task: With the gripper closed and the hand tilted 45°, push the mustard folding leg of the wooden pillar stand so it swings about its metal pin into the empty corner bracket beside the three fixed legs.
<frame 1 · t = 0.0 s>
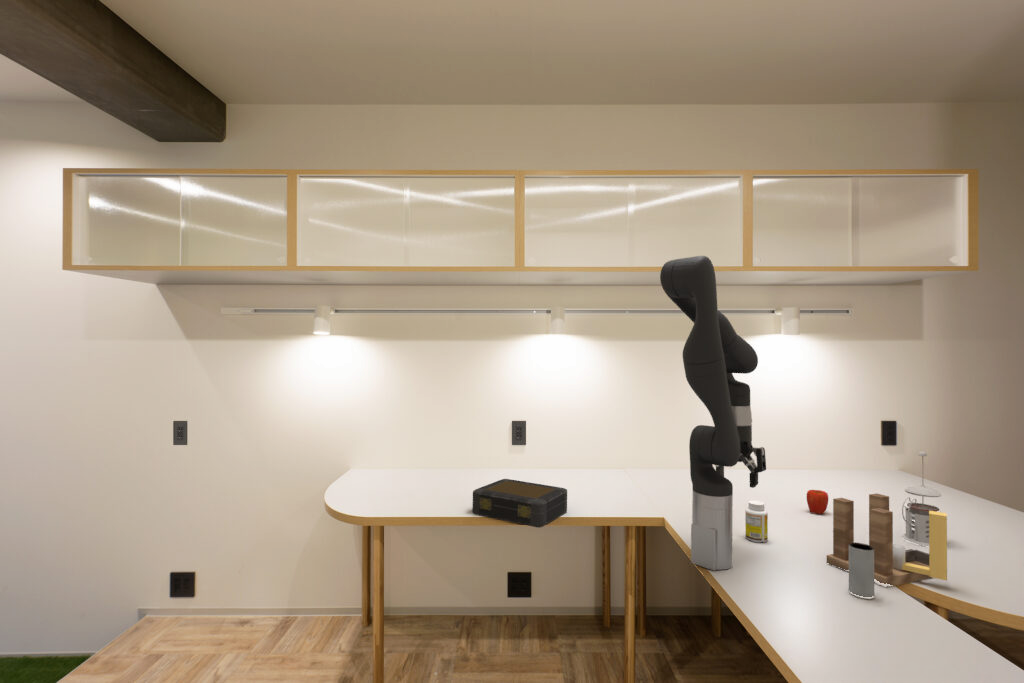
hand: (736, 483, 135), 17 cm above the table, tool pointing down, fingers open, 8 cm apart
hinged leg: (918, 541, 117), point 9 cm above the table, hinge at -60.0°
wooden pillar stand: (880, 569, 123), on the table
apple: (817, 513, 168), on the table
grey tube: (861, 595, 110), on the table
ramekin: (921, 521, 162), on the table
french press: (920, 542, 143), on the table
supplement bottle: (756, 540, 142), on the table
cash box: (520, 513, 164), on the table
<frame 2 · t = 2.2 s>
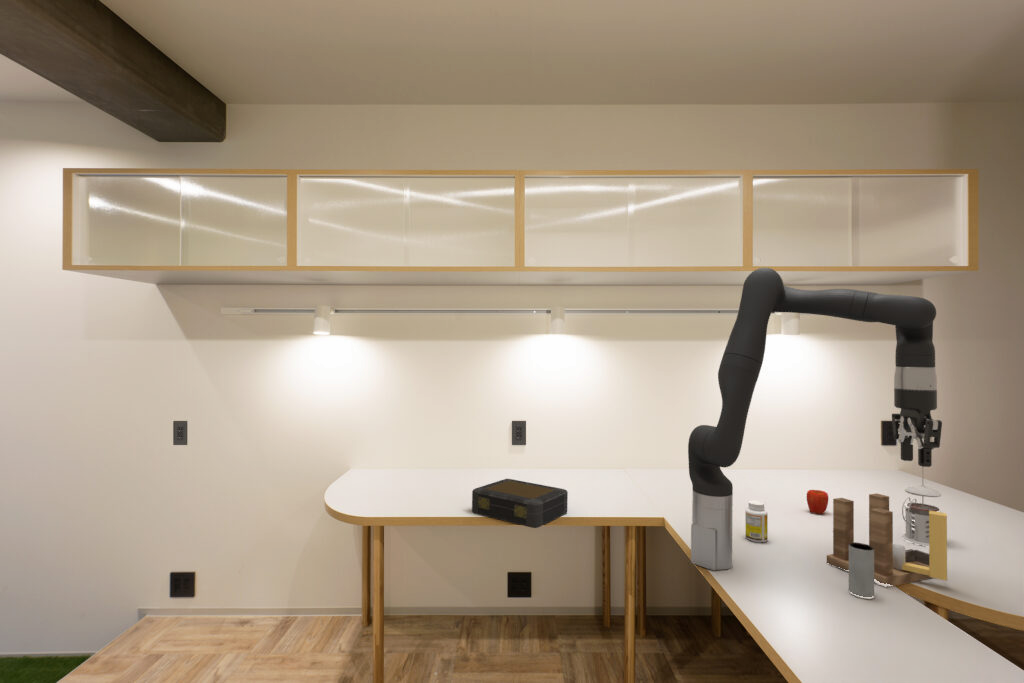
hand: (915, 463, 114), 28 cm above the table, tool pointing down, fingers open, 5 cm apart
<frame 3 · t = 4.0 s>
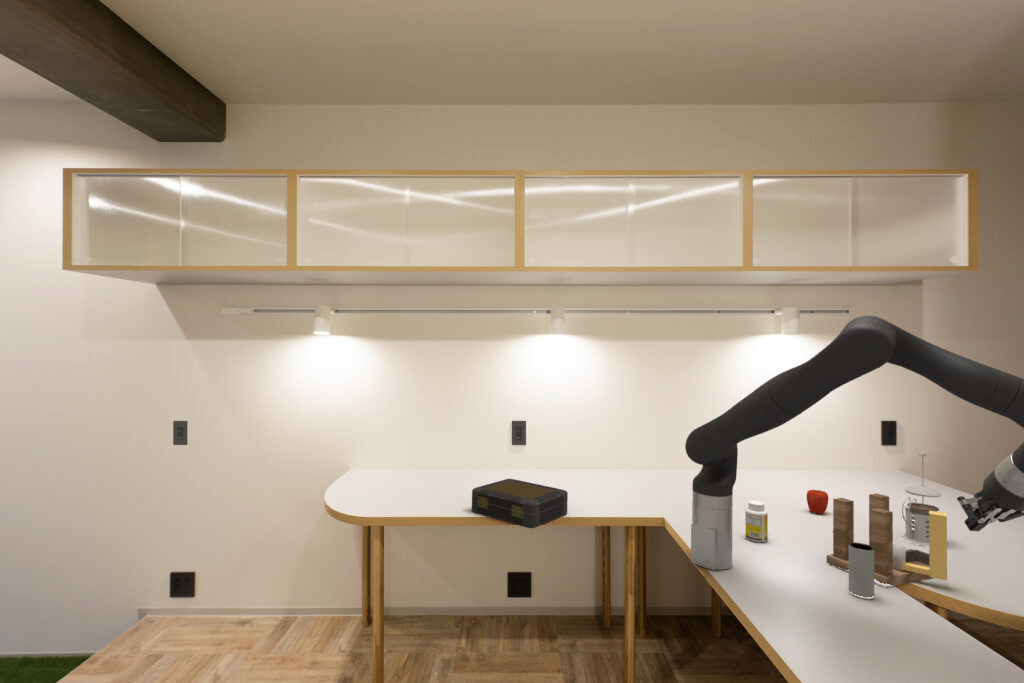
hand: (971, 526, 105), 16 cm above the table, tool tilted 45°, fingers closed
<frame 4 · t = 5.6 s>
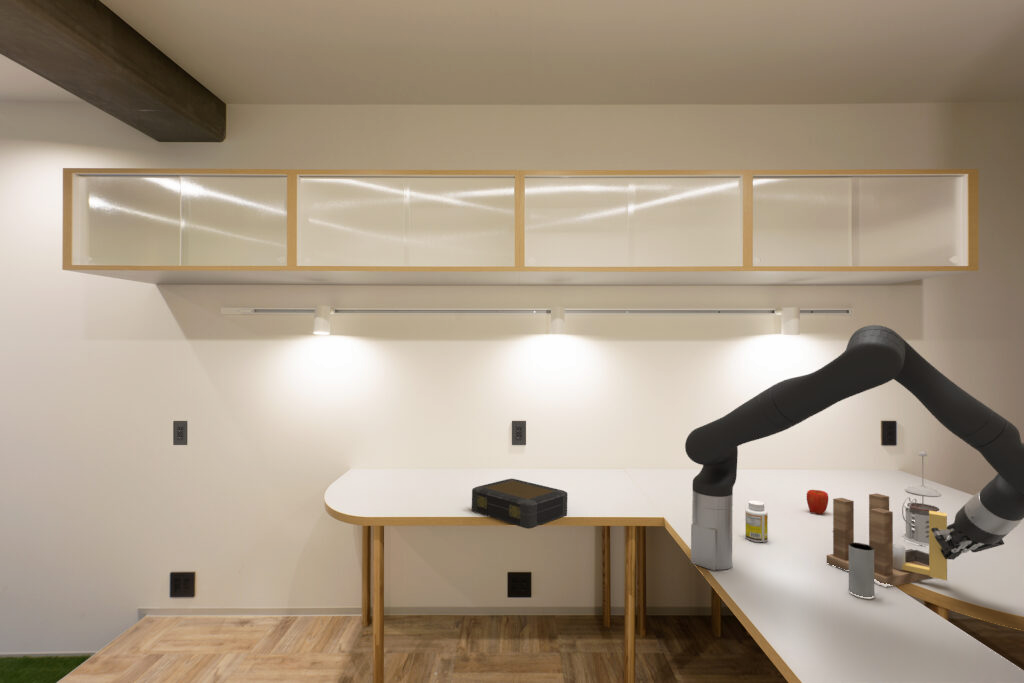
hand: (946, 555, 112), 8 cm above the table, tool tilted 45°, fingers closed
hinged leg: (918, 541, 117), point 9 cm above the table, hinge at -59.4°, touching gripper
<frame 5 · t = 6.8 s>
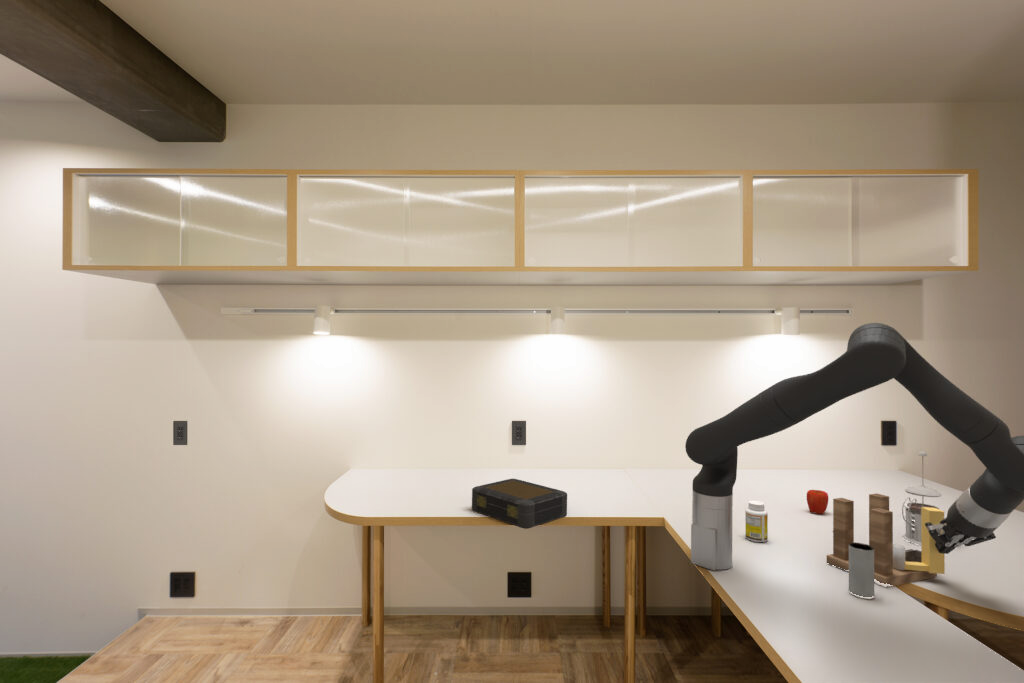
hand: (941, 549, 116), 8 cm above the table, tool tilted 45°, fingers closed
hinged leg: (916, 538, 118), point 9 cm above the table, hinge at -31.2°, touching gripper
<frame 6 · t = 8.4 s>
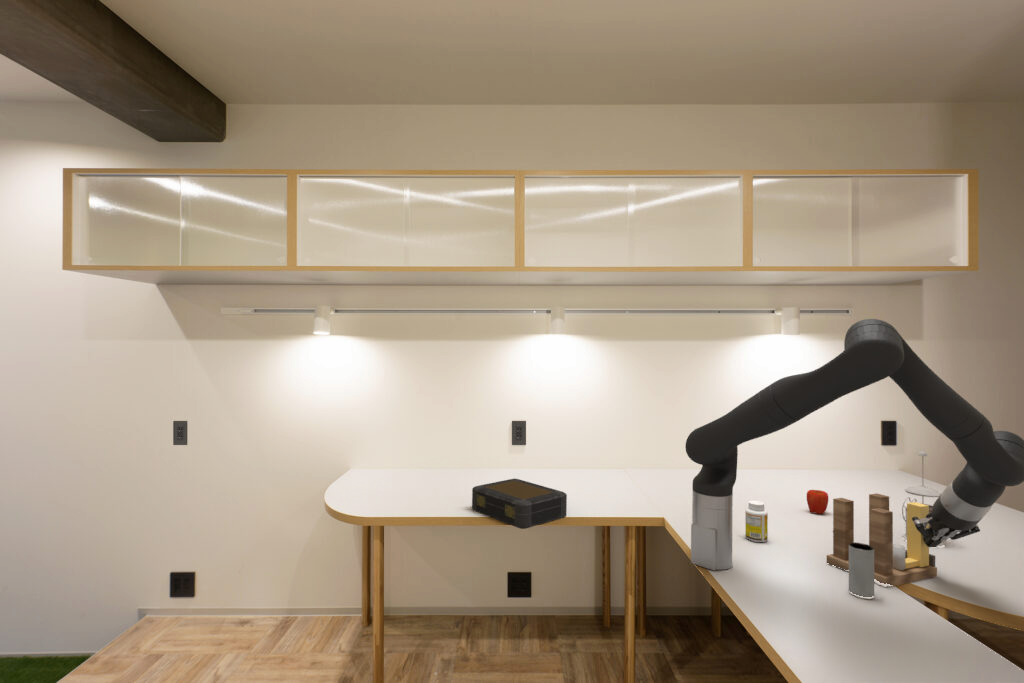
hand: (929, 543, 119), 8 cm above the table, tool tilted 45°, fingers closed
hinged leg: (908, 535, 120), point 9 cm above the table, hinge at 0.5°, touching gripper
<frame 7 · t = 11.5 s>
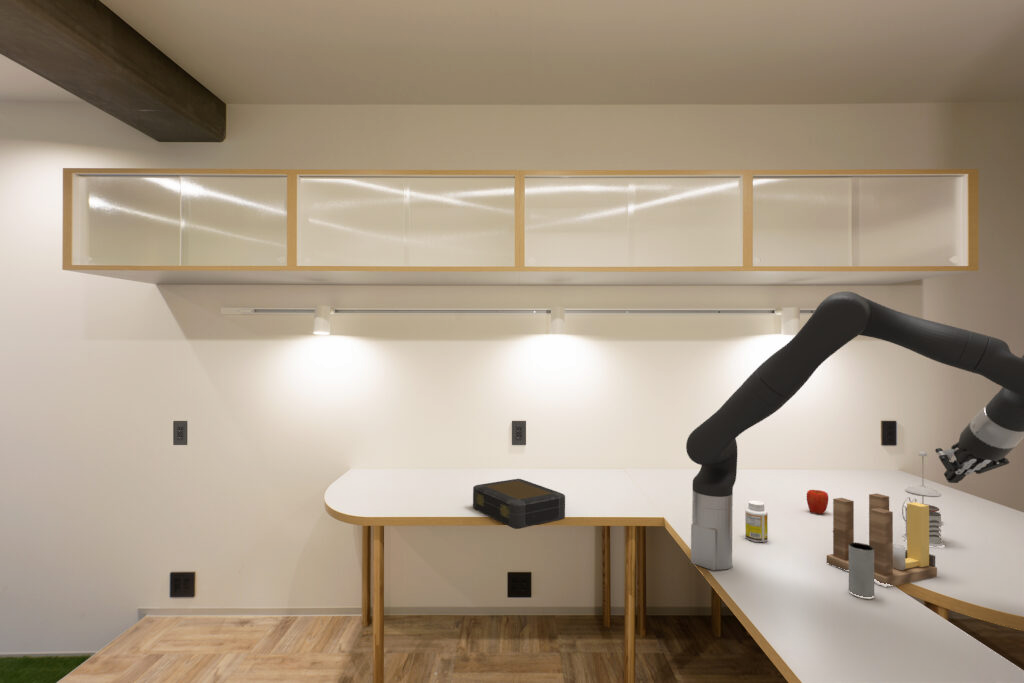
hand: (950, 479, 111), 25 cm above the table, tool tilted 45°, fingers closed
hinged leg: (908, 535, 120), point 9 cm above the table, hinge at 0.3°
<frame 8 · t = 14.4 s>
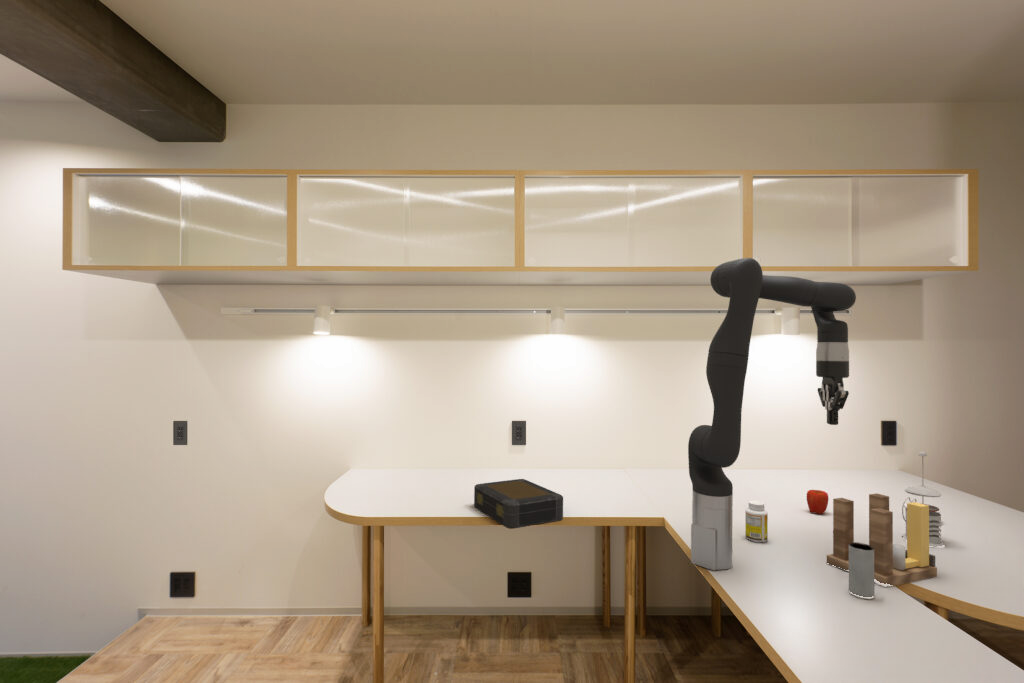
hand: (832, 424, 137), 33 cm above the table, tool pointing down, fingers closed
at the end: hinged leg at +0° (first picture: -60°) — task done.
